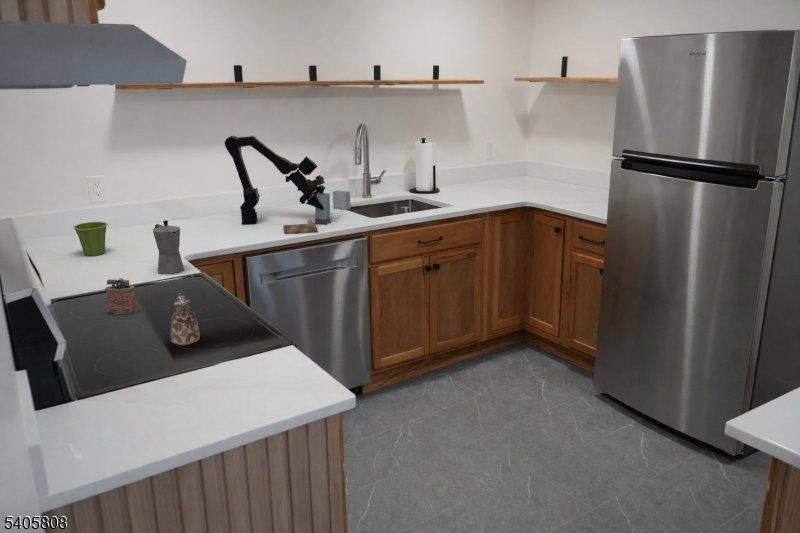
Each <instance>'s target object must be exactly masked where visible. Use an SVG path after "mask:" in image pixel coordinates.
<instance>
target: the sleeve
mask: <svg viewBox="0 0 800 533" xmlns="http://www.w3.org/2000/svg"><path fill="white" fill-rule="evenodd" d="M317 199H318V200H319V202H320V203H321V204H322V206H323V207H324V209H323V210H321V209H319V208H316V207H314V208H315V212H314V213H315V219H314V224H323V225H327V224H329V223H331V220H332V219H331V195H330V193H327V192H326V193H325V192H323V193H318V194H317Z"/></svg>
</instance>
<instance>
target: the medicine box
mask: <svg viewBox="0 0 800 533" xmlns="http://www.w3.org/2000/svg"><path fill="white" fill-rule="evenodd" d="M351 204H352V202H351V192H350V190H349V191H347V190H341V189H340V190H334V191H332V207H333V209H335V208H338V209H337V210H345V211H347V210H350V209H351V208H352V205H351Z"/></svg>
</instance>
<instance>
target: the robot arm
mask: <svg viewBox="0 0 800 533" xmlns="http://www.w3.org/2000/svg"><path fill="white" fill-rule="evenodd" d="M224 146H225V148H226V150H227V153H229V155H230V157H231V158H232V160H233V163H234V165H235V168H236V171H237V172H236V173H237V175H238V178H239V181H240V183H241V184H240V185H241V186H242V192H243V193H242V194H243V200H244V202H243V203H242V204H241V205H240V206H239V209H240V214H241V215H240V216H241V225H254V224H257V222H258V212H257V211H256V208H255V207H256V206H257V205H258V204H259V202H260V197H261V195H260V193H259V189H258V187H256V188H255V187H254V186H253V184H252V181H251V178H250V176H249V172H248V170H247V167H246V164H245V161H244V158H243V152H242V148H243V147H244V148H245V147H248V146H249V147H252V148H253V149H254V150H255V151H257V152H258V153H259V154H261V155H262V156H263V157H264V158H266V159H268V161H269V162H271V163H272V164H273V166H274V167H275V168H276V169H277V171H279V172H280V173H281V174H282V175H285V183H289V182H290V181H291V183H292V184H294V186H295V187H297V189H296V190H297V191H298V192H299V191H300V192H301V193H302V195H301V196H300V197H299V202H300V204H302V205H304V204H306V205H309V206H311V207H314V208H315V207H316V208H319V209H321V210H323V209H324V207H323V206H322V204H321V203H320V202H319V200H318V199H317V194H318V193H325V190H326V186H324V185H323V184H325V178H324V177H323V176H322V175H320V174H319V175H317V176H315V179H313V180H311V179H307V178H306V177H305V176H310V175H311V174H312V173H314V171H315V170H316V169H317V168H318V165H317V164H316V162H315V161H314V160H312V159H311V158H310V157H308V156H305V157H304V158H303V159H302V160H301V161H300V163H294V162H291V160H289V159H287V158H285V157H283V156H281V155H278V153H276V152H275V151H274V150H272V149H270V148H269V147H268V146H267V145H265V144H264V143H263V142H261V141H260V140H259V139H258V138H257V137H256V136H254V135H250V136H236V135H230V136H228V137H227V138H226V139H225V140H224ZM288 174H289V175H288Z"/></svg>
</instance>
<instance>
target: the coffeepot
mask: <svg viewBox="0 0 800 533" xmlns="http://www.w3.org/2000/svg"><path fill="white" fill-rule="evenodd" d="M162 222H163V224H159V223H156V224H155V226H154V228H153V229H152V233H153V235H154V240H155V243H156V247H157V250H158V260H157V261H158V262H157V273H158V274H159V273H160V274H159V275H163V274H171V275H176V274H175V273H177V274H179V272H180V273H182V271H183V272H184V271H185V267H184V264H183V260H182V257H181V253H180V252H181V251H180V245H181V244H180V240H181V239H180V238H181V227H180V226H177V225H176V226H175V225H169V224H168V223H169V220H166V219H165V220H163V221H162Z"/></svg>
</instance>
